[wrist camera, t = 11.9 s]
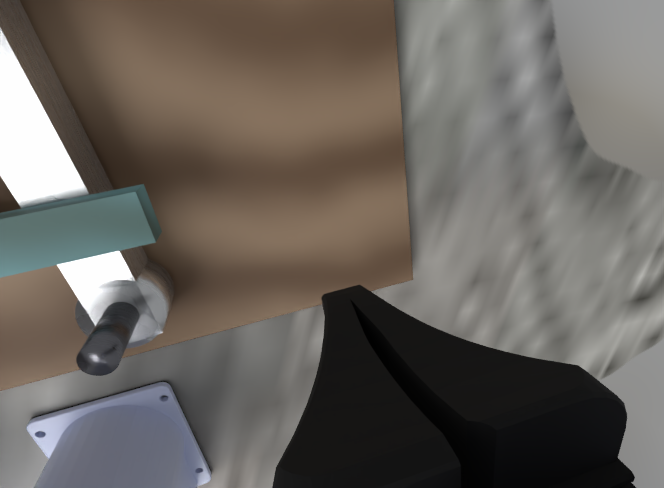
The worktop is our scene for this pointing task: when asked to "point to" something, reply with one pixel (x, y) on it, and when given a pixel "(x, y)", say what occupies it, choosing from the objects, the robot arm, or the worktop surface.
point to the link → (66, 183)
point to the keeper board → (214, 165)
